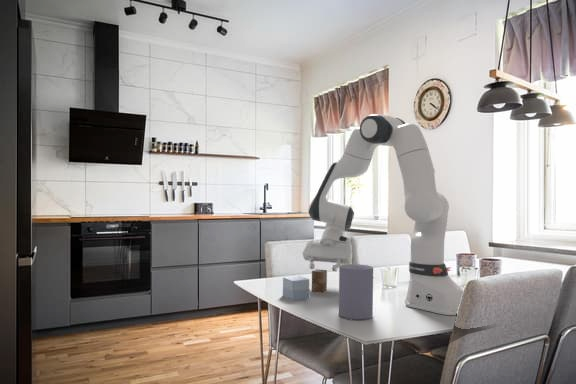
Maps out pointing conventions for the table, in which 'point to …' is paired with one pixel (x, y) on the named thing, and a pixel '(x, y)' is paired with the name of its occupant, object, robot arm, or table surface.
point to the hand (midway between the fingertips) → (322, 269)
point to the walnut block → (319, 281)
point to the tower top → (296, 283)
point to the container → (355, 291)
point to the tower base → (296, 294)
